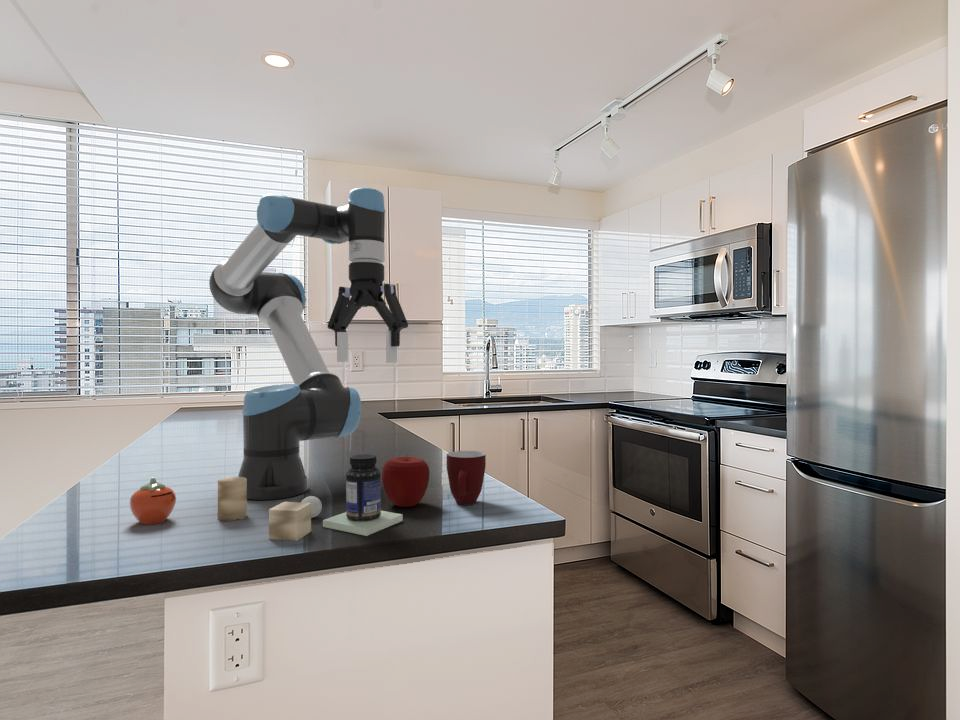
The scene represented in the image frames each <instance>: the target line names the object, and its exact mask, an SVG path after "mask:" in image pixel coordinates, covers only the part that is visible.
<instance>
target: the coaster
mask: <svg viewBox="0 0 960 720" xmlns="http://www.w3.org/2000/svg"><path fill="white" fill-rule="evenodd" d="M403 517H404V516H403V513H396V512H392V511H385V510H381V515H380V516H379V517H378V518H376V519H374V520H368V521H353V520H350V519H348V518H347V516H346V511H345V512H342V513H340V514H337V515H334V516H331V517H327V518H325V519H323V520H322V527H323V528H326V529H331V530H336V531H341V532H347V533H350V534H356V535H359V536H365V537H368V536H370V535H373V534H375V533H377V532H380V531H382V530H384V529H386V528H389V527H392V526H393V525H396V524H399V523H401V522H403Z"/></svg>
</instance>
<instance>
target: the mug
mask: <svg viewBox="0 0 960 720" xmlns="http://www.w3.org/2000/svg"><path fill="white" fill-rule="evenodd" d="M486 460H487V459H486V453H484V452H483V451H477V450H475V451H474V450H457V451H456V450H455V451H451V452H447V453H446V473H447V478H448V484H449V490H450V492H451V494H452V497H453V499H454V501H455V502H456V503H457V504H458V505H462V506H464V505H466V506H468V505H474V504H475V503H476V502H477V500H478V498H479V496H480V495H481V492H482V489H483V484H484V479H485V473H486V464H487V463H486Z"/></svg>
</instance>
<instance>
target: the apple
mask: <svg viewBox="0 0 960 720" xmlns="http://www.w3.org/2000/svg"><path fill="white" fill-rule="evenodd" d="M429 481H430V466H428V463H427V462H426V461H425V460H424V459H423V458H421V457H415V456H408V455H407V454H406V456H396V457H391V458H388V460H386V461H385V463H384V465H383V466H382V470H381V483H382V486H383V490H384V492H385V495H386V497H387V498H388V500H389V501H390V502H391V503H392V504H393V505H395V506H396V507H400V508H401V507H402V508H408V507H414V506H416V505H418V504H419V503H420V501H421V500H422V499H423V497H424V496H425V494H426V491H427V489H428V485H429Z"/></svg>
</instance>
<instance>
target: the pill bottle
mask: <svg viewBox="0 0 960 720" xmlns="http://www.w3.org/2000/svg"><path fill="white" fill-rule="evenodd" d="M377 462H378V461H377V455H376V454H372V453H371V454H370V453H360V454H353V455H351V456H350V457H349V465H350V466H351V468H349V469H348V470H347V472H346V475H345V484H346V485H345V494H346V495H345V498H346V500H345V502H346V504H345V506H346V509H345V510H346V511H345V512H346V516H347V518H348V519H350V520H353V521H368V520H374V519H376V518H378V517H379V516H380V515H381V511H382V510H381V507H382V505H381V503H382V501H381V500H382V499H381V498H382V497H381V493H382V492H381V471H380V469H379V468H377V467H376V464H377Z"/></svg>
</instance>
